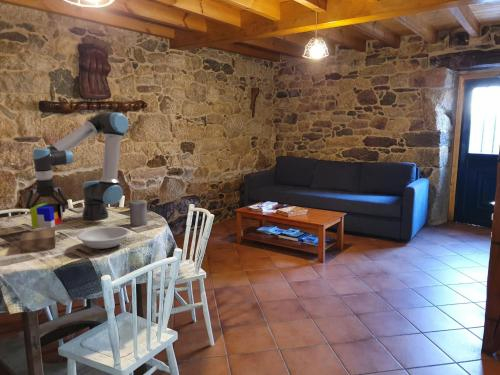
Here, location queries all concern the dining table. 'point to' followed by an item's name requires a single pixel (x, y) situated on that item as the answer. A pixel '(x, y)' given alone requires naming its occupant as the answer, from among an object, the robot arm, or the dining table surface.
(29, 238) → the walnut base block
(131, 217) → the pillar candle
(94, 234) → the soup bowl
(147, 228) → the dining table surface
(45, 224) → the puzzle toy
